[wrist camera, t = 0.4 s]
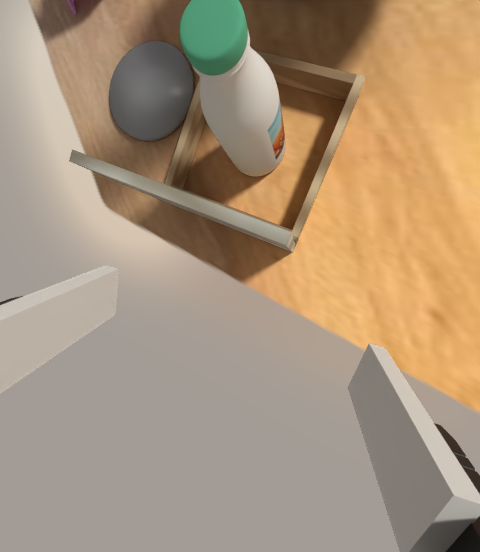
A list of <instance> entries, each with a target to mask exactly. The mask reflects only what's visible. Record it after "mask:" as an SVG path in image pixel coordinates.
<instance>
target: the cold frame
mask: <svg viewBox="0 0 480 552" xmlns="http://www.w3.org/2000/svg"><path fill="white" fill-rule="evenodd" d="M253 50H254V49H253ZM254 51H255V52H257V53H258V54H259V55H260V56H261V57H262V58H263V59H264V60H265V62H266V63H267V64H268V66H269V68H270V69H271V71H272V73H273V75H274V78H275V81H276V83H279V84H283V85H287V86H291V87H295V88H298V89H302V90H306V91H310V92H314V93H317V94H321V95H325V96H329V97H333V98H336V99H340V100H344V101H346V103H345V105H344V107H343V110H342V112H341V115H340V117H339V119H338V122H337V124H336V127H335V129H334V131H333V134H332V136H331V139H330V141H329V143H328V146H327V148H326V151H325V153H324V155H323V158H322V160H321V163H320V165H319V167H318V170H317V172H316V175H315V177H314V179H313V182H312V184H311V187H310V189H309V191H308V194H307V196H306V199H305V201H304V203H303V206H302V208H301V211H300V213H299V215H298V218H297V220H296V223H295V225H294V227H293V230H291V229H288V228H285V227H283V226H280V225H277V224H275V223H272V222H269V221H267V220H264V219H261V218H259V217H256V216H253V215H251V214H248V213H245V212H243V211H240V210H237V209H235V208H232V207H229V206H227V205H224V204H221V203H219V202H216V201H213V200H211V199H208V198H205V197H203V196H200V195H197V194H195V193H192V192H189V191H187V190H184V189H183V187H184V184H185V181H186V178H187V175H188V173H189V170H190V167H191V164H192V161H193V158H194V155H195V152H196V149H197V146H198V143H199V140H200V138H201V135H202V132H203V129H204V126H205V123H206V119H205V117H204V114H203V111H202V107H201V101H200V77H199V80H198V83H197V86H196V89H195V92H194V96H193V99H192V102H191V105H190V108H189V111H188V114H187V117H186V120H185V123H184V126H183V129H182V132H181V135H180V138H179V141H178V144H177V147H176V150H175V153H174V156H173V159H172V162H171V165H170V168H169V171H168V174H167V177H166V180H165V183H164V184H162V183H160V182H157V181H154V180H152V179H149V178H146V177H144V176H141V175H138V174H136V173H133V172H130V171H128V170H125V169H122V168H120V167H117V166H115V165H112V164H109V163H107V162H104V161H101V160H99V159H96V158H93V157H91V156H88V155H85V154H83V153H80V152H77V151H75V150H72V153H71V157H70V160H69V161H70V162H73V163H75V164H77V165H80V166H82V167H84V168H87V169H89V170H91V171H94V172H96V173H98V174H101V175H103V176H105V177H108V178H110V179H112V180H115V181H117V182H119V183H122V184H124V185H126V186H129V187H131V188H134V189H136V190H138V191H141V192H143V193H145V194H148V195H150V196H152V197H155V198H157V199H159V200H162V201H164V202H166V203H169V204H171V205H174V206H176V207H179V208H181V209H184V210H186V211H189V212H191V213H194V214H196V215H199V216H202V217H204V218H207V219H209V220H212V221H214V222H217V223H219V224H222V225H224V226H227V227H230V228H232V229H235V230H237V231H240V232H242V233H245V234H247V235H250V236H252V237H255V238H258V239H260V240H263V241H265V242H268V243H270V244H273V245H275V246H278V247H280V248H283V249H286V250H288V251H291V252H293V251H294V248H295V246H296V244H297V241H298V239H299V236H300V234H301V232H302V229H303V227H304V225H305V222H306V220H307V218H308V215H309V213H310V210H311V208H312V206H313V203H314V201H315V199H316V196H317V194H318V191H319V189H320V187H321V184H322V182H323V180H324V177H325V175H326V173H327V170H328V168H329V165H330V163H331V161H332V158H333V156H334V154H335V151H336V149H337V146H338V144H339V142H340V139H341V137H342V135H343V132H344V130H345V128H346V125H347V123H348V120H349V118H350V116H351V113H352V111H353V109H354V106H355V104H356V102H357V99H358V97H359V94H360V91H361V89H362V86H363V83H364V80H365V76H361V75H357V74H353V73H349V72H345V71H340V70H336V69H332V68H328V67H324V66H320V65H316V64H312V63H307V62H303V61H299V60H295V59H291V58H287V57H283V56H278V55H274V54H270V53H266V52H262V51H258V50H254Z"/></svg>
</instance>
